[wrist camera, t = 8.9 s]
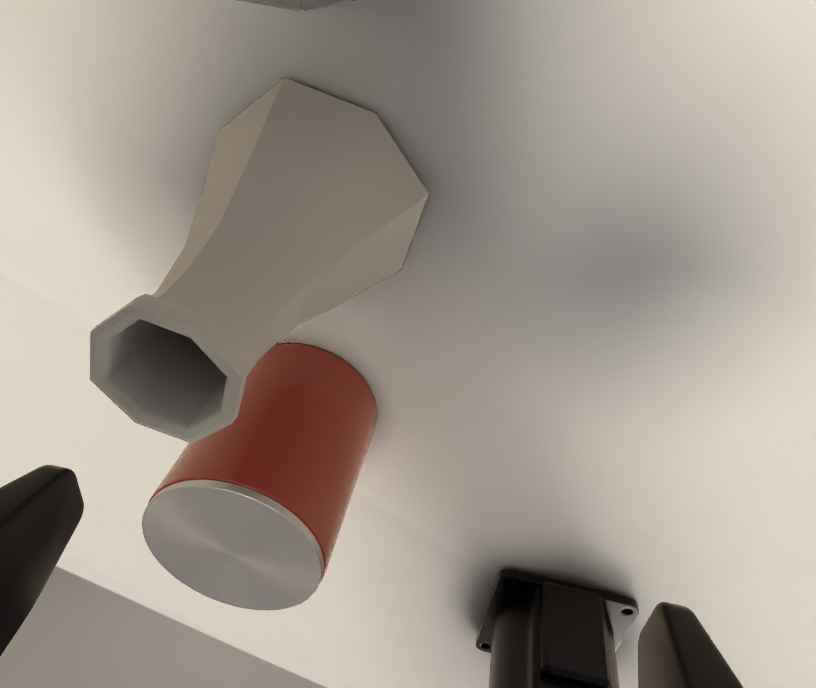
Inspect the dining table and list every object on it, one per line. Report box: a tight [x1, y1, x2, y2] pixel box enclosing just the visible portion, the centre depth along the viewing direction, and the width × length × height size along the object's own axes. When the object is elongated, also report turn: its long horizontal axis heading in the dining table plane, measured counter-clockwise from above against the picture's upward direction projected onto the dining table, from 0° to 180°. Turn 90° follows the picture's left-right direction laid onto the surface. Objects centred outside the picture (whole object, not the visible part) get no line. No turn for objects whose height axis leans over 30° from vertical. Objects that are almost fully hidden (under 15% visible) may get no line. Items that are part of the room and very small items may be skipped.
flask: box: [90, 78, 429, 443], centre depth 16 cm, size 7×7×10 cm
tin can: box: [142, 343, 377, 610], centre depth 22 cm, size 6×6×8 cm
